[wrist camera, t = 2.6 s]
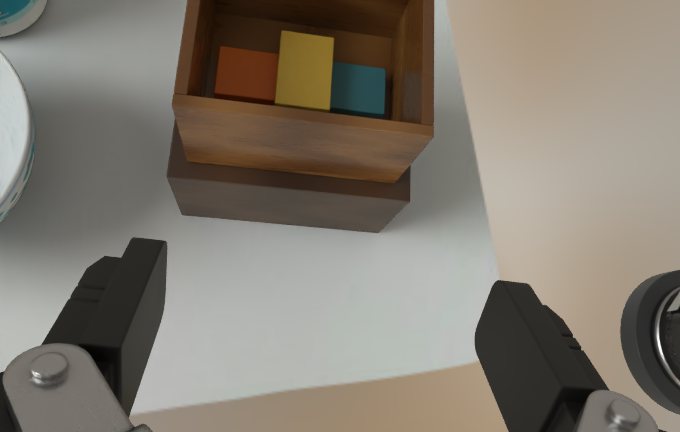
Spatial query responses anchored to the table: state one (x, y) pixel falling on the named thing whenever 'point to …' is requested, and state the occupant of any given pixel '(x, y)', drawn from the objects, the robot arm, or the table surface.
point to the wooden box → (304, 125)
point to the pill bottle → (19, 15)
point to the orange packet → (246, 76)
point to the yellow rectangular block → (304, 72)
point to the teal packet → (358, 90)
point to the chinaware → (14, 137)
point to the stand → (282, 195)
